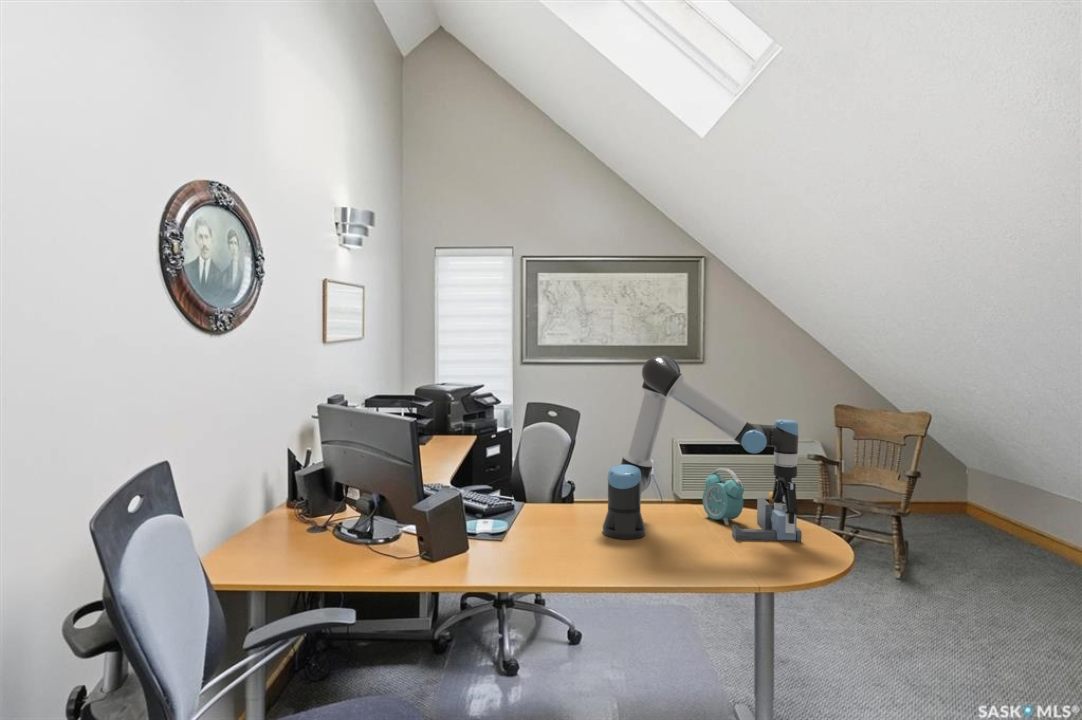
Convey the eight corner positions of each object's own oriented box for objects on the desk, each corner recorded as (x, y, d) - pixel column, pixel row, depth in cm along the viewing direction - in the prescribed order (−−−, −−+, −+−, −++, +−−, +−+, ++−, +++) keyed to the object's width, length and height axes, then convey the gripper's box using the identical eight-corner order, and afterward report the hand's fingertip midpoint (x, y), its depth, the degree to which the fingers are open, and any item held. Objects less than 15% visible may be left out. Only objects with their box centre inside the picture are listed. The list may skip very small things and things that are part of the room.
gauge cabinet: (765, 532, 215) (766, 505, 214) (757, 523, 225) (757, 497, 225) (794, 533, 214) (794, 505, 214) (784, 524, 225) (784, 498, 224)
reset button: (771, 504, 218) (771, 494, 218) (767, 501, 222) (767, 491, 222) (783, 504, 217) (783, 494, 217) (779, 501, 222) (779, 491, 222)
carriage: (778, 540, 204) (778, 516, 204) (771, 533, 211) (772, 510, 211) (796, 540, 203) (796, 516, 203) (789, 534, 210) (789, 510, 210)
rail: (735, 540, 206) (735, 529, 206) (732, 536, 211) (732, 524, 211) (801, 542, 204) (801, 531, 204) (796, 537, 209) (796, 526, 209)
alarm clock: (697, 515, 236) (698, 465, 235) (716, 512, 240) (717, 463, 239) (728, 527, 220) (729, 474, 220) (748, 524, 224) (749, 471, 224)
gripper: (809, 472, 193) (807, 538, 194) (785, 458, 218) (783, 517, 218) (786, 471, 194) (784, 537, 195) (764, 457, 218) (762, 516, 219)
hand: (783, 526), depth 206 cm, fingers open, 12 cm apart
